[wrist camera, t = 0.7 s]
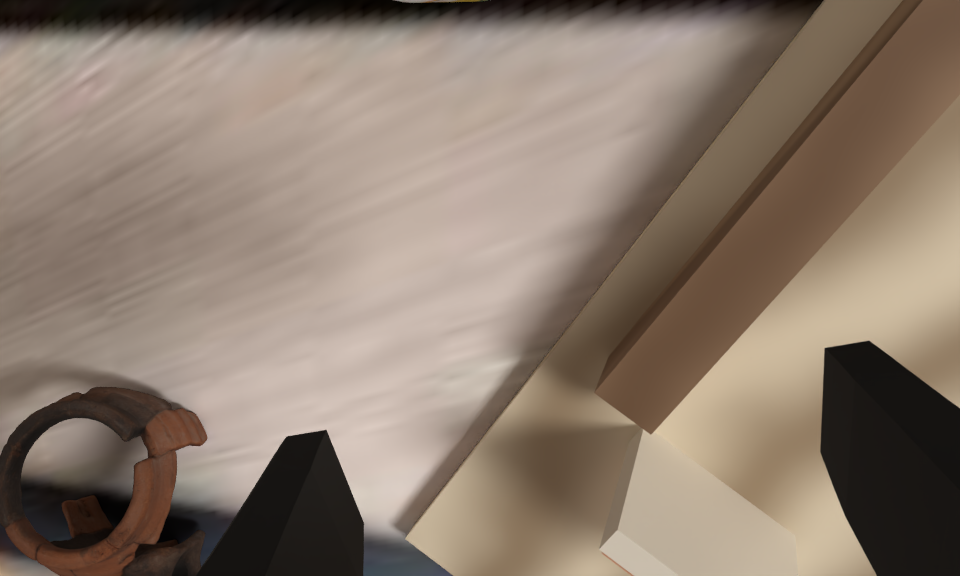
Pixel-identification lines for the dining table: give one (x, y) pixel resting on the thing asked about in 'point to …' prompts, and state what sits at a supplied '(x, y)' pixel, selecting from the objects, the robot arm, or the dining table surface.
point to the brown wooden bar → (790, 209)
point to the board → (745, 366)
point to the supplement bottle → (421, 0)
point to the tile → (688, 520)
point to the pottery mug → (95, 543)
